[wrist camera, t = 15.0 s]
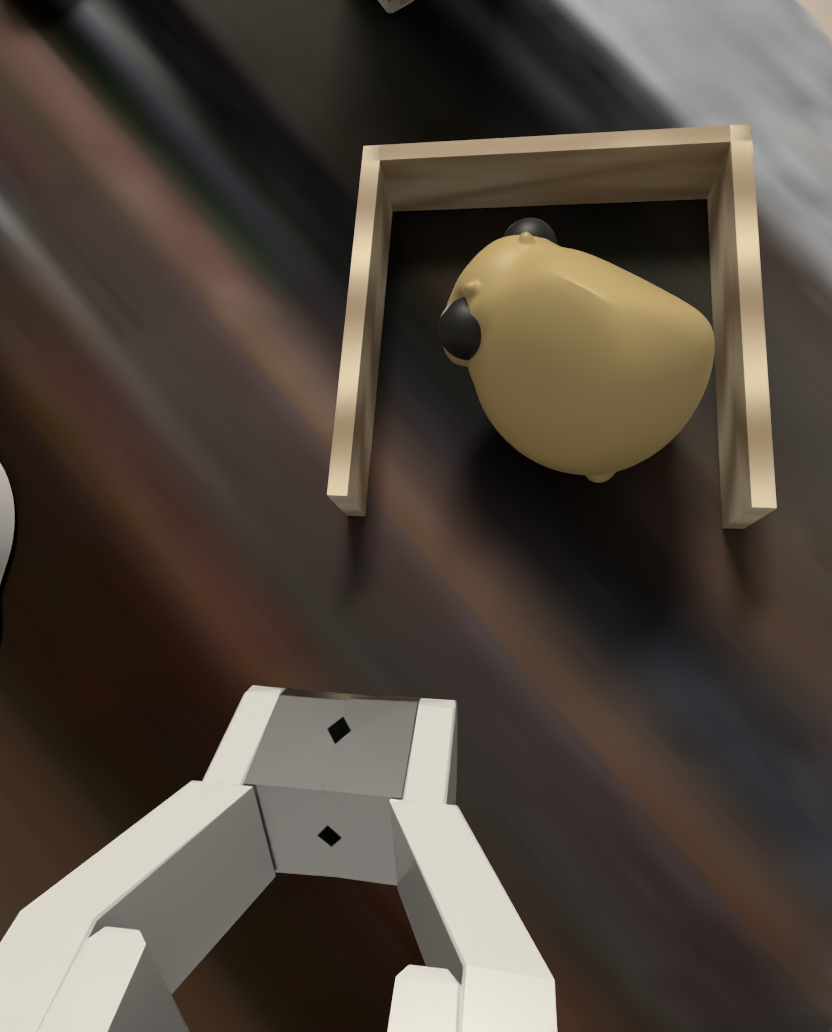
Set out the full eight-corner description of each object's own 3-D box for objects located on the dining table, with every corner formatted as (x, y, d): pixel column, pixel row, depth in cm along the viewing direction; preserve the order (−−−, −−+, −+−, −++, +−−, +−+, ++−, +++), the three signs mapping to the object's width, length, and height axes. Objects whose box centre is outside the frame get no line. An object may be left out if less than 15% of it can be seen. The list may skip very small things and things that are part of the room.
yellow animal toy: (534, 275, 36) (544, 118, 26) (715, 397, 33) (807, 272, 23) (419, 401, 35) (382, 288, 25) (594, 538, 32) (633, 473, 22)
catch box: (743, 528, 31) (776, 508, 28) (347, 515, 34) (326, 495, 31) (725, 183, 36) (750, 123, 32) (377, 198, 39) (363, 145, 35)
